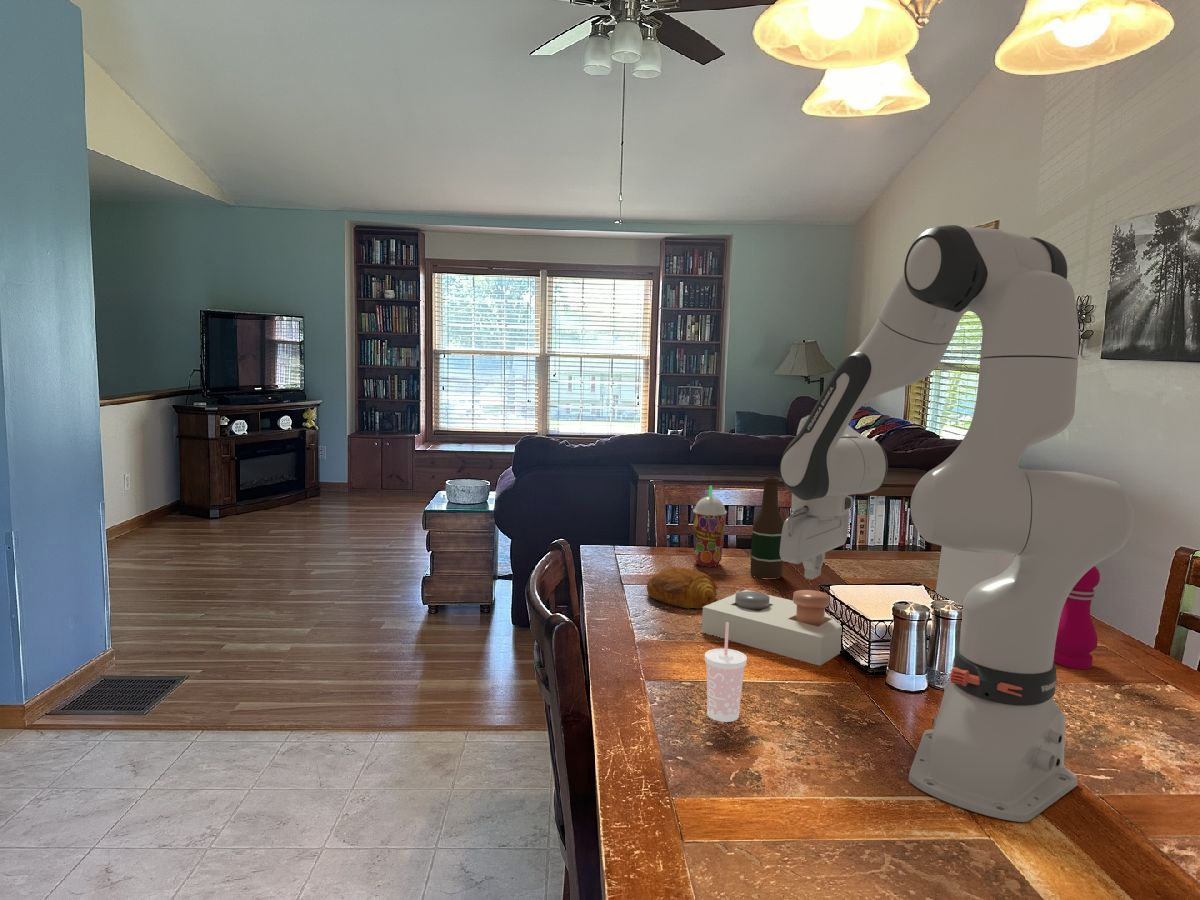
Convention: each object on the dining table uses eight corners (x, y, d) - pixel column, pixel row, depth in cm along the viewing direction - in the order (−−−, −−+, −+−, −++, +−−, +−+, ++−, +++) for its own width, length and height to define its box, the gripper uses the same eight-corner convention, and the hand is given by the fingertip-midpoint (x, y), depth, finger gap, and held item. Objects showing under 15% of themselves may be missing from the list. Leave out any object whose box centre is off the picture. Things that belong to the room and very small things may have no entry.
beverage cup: (694, 709, 122) (698, 618, 120) (729, 703, 125) (733, 614, 123) (715, 727, 117) (720, 631, 115) (752, 720, 119) (757, 627, 117)
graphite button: (757, 637, 154) (759, 603, 153) (727, 629, 158) (729, 596, 157) (773, 629, 159) (775, 596, 158) (744, 621, 163) (746, 589, 162)
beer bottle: (785, 580, 193) (791, 480, 190) (752, 579, 193) (757, 479, 190) (779, 572, 201) (784, 475, 198) (747, 571, 201) (752, 474, 198)
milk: (931, 620, 167) (941, 494, 164) (952, 608, 175) (962, 488, 172) (994, 635, 159) (1005, 502, 156) (1013, 621, 167) (1024, 496, 164)
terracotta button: (818, 638, 146) (820, 602, 145) (785, 629, 150) (787, 594, 149) (833, 629, 151) (835, 594, 150) (801, 621, 155) (803, 587, 154)
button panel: (819, 665, 141) (821, 637, 140) (701, 632, 156) (702, 606, 155) (857, 642, 153) (859, 616, 152) (744, 613, 168) (745, 589, 167)
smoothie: (689, 567, 203) (693, 487, 201) (691, 559, 211) (694, 482, 209) (724, 569, 202) (727, 489, 199) (724, 561, 210) (728, 484, 208)
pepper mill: (1101, 672, 141) (1113, 558, 139) (1056, 668, 142) (1066, 555, 140) (1086, 657, 148) (1096, 548, 146) (1042, 653, 149) (1052, 546, 147)
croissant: (685, 625, 167) (690, 588, 165) (634, 596, 178) (638, 562, 176) (732, 610, 176) (737, 575, 174) (680, 583, 187) (684, 551, 186)
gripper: (806, 514, 138) (801, 593, 140) (856, 497, 153) (852, 569, 155) (772, 508, 142) (768, 586, 144) (825, 492, 157) (820, 563, 159)
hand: (812, 577), depth 149 cm, fingers closed
